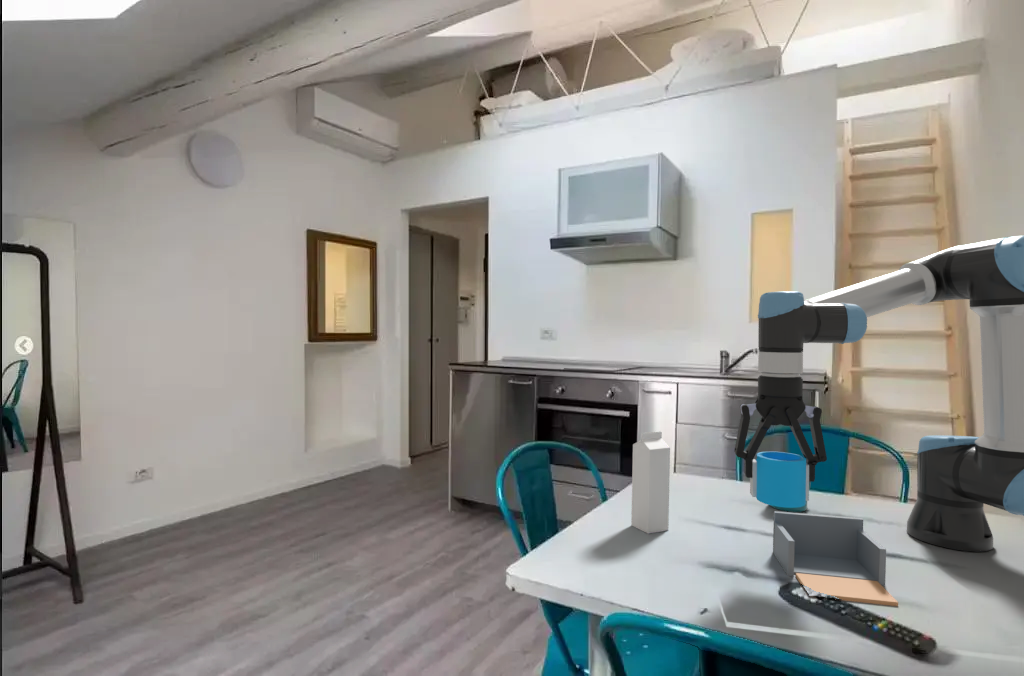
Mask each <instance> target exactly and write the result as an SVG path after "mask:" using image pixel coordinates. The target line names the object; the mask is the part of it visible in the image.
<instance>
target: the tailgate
mask: <svg viewBox="0 0 1024 676" xmlns="http://www.w3.org/2000/svg"><path fill="white" fill-rule="evenodd" d="M795 578H796V579H797V581H798V582H799V584H800V585H801V584H802V585H804V586H807V587H809V588H811V589H812V590H814V591H816V592H820V593H824V594H827V595H831V596H835V597H837V598H839V599H842V600H841V601H847V602H855V603H865V604H874V605H884V606H891V607H899V601H898V600H897V599H896V598H895V597H894V596H893V595H892V594H891V593H890V592H889V591H888V590H887V589H885V587H884V585H881V584H880V583H879V582H878V581H871V580H861V579H851V578H841V577H831V576H821V575H811V574H801V573H796V574H795ZM802 585H801V586H802Z"/></svg>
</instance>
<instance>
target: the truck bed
mask: <svg viewBox="0 0 1024 676" xmlns="http://www.w3.org/2000/svg"><path fill="white" fill-rule="evenodd" d="M772 554H773V555H774V557H775V558H776V560H777V562H779V564H780V566H781V567H782V570H784V572H785V573H786V575H787V576H788V577H795V575H796V573H801V574H811V575H821V576H831V577H841V578H851V579H861V580H871V581H878V582H879V583H880V584H881V585H882V586H886V573H887V572H886V571H887V565H886V564H887V549H886V548H885V547H884V546H883V545H881V543H879V542H878V541H877V540H876V539H874V537H872V536H871V535H870V534H869V533H867V532H866V531H865V530H864V519H863V518H862V517H853V516H852V517H851V516H839V515H838V516H837V515H827V514H815V513H813V514H812V513H802V512H787V511H778V510H777V511H775V510H774V511H773V535H772Z"/></svg>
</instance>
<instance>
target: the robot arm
mask: <svg viewBox="0 0 1024 676" xmlns="http://www.w3.org/2000/svg"><path fill="white" fill-rule="evenodd" d="M953 300H956V301H957V300H969V309H970V310H971V311H972V312H974V313H976V314H977V315H978V316H979V327H980V328H979V329H980V352H981V353H980V355H981V358H980V359H981V380H982V381H981V382H982V385H981V386H982V407H983V413H982V414H983V434H982V435H981V436H969V435H942V434H941V435H938V434H937V435H925V436H924V435H923V436H922V437H921V438H920V439H919V442H918V451H917V452H916V454H917V460H916V461H917V464H916V465H917V467H916V468H917V473H916V474H917V477H916V479H917V484H916V486H917V489H916V490H917V491H916V492H917V493H916V501H915V503H914V505H913V507H912V509H911V512H910V514H909V516H908V519H907V521H906V533H907V534H909V535H910V536H911V537H913V538H914V539H917V540H919V541H922V542H924V543H927V544H929V545H933V546H937V547H941V548H946V549H952V550H958V551H964V552H988V551H991V550H993V549H994V536H993V533H992V530H991V527H990V523H989V522H988V518H987V516H986V513H985V511H984V510H985V509H984V504H985V505H988V506H990V507H994V508H997V509H1000V510H1003V511H1006V512H1008V513H1009V514H1012V515H1017V516H1018V515H1019V516H1023V517H1024V235H1014V236H1013V235H1011V236H1005V237H1001V238H995V239H990V240H984V241H979V242H973V243H965V244H960V245H955V246H953V247H952V246H951V247H949V248H946V249H942V250H941V251H938V252H935V253H932V254H930V255H927V256H924V257H921V258H918V259H916V260H912V261H910V262H906V263H904V264H903V265H901V266H900V268H899V269H898V270H896V271H894V272H891V273H887V274H883V275H881V276H878V277H874V278H871V279H868V280H864V281H861V282H859V283H855V284H851V285H849V286H845V287H842V288H839V289H836V290H832V291H828V292H826V293H822V294H820V295H816V296H813V297H809V298H807V299H805V296H804V294H803V293H802V292H801V291H790V290H789V291H788V290H787V291H768V292H764V293H763V294H761V295H760V297H759V303H758V314H757V321H758V330H757V331H758V332H757V333H758V339H757V340H758V354H757V355H758V363H757V369H758V370H757V372H758V373H760V375H759V376H758V377H757V398H756V401H755V402H754V403H748V404H745V403H741V404H740V405H739V410H740V419H739V420H740V421H739V425H738V429H737V435H736V439H735V445H734V450H733V453H734V454H735V455H736V456H737V458H741V459H743V461H744V463H743V464H744V466H743V467H744V469H743V470H744V471H743V473H744V475H745V477H746V478H747V479H749V483H750V484H749V494H750V495H751V497H752V498H756V497H757V461H756V459H755V456H756V455H757V453H758V451H759V448H760V447H761V444H762V443H763V440H764V438H765V436H766V434H767V432H768V430H770V428H771V426H780V425H782V426H785V427H789V428H790V430H791V432H792V434H793V436H794V438H795V441H796V442H797V445H798V447H799V449H800V451H801V453H802V456H803V457H805V458H806V501H807V502H809V501H810V498H809V497H810V489H809V481H810V482H811V483H814V482H815V480H816V466H817V464H818V463H821V462H822V463H824V462H826V461H827V451H826V446H825V441H824V436H823V430H822V425H821V418H822V413H823V412H822V411H823V410H822V408H821V407H819V406H815V405H813V406H811V405H806V403H805V402H804V400H803V398H804V397H803V394H804V393H803V391H804V389H803V388H804V382H803V381H804V379H803V378H802V377H801V376H800V375H802V374H803V372H804V344H808V343H809V344H815V343H816V344H841V345H843V344H850V343H851V344H852V343H857V342H858V341H860V340H861V339H863V337H864V335H865V334H866V332H867V329H868V318H869V317H872V316H876V315H879V314H883V313H885V312H889V311H891V310H893V309H894V310H895V309H898V308H901V307H905V306H907V305H911V304H912V305H916V306H922V305H926V304H930V303H933V302H940V301H953ZM755 410H757V412H758V413H759V415H760V416H761V418H760V419H759V420H760V421H759V423H758V425H757V427H756V429H755V432H754V434H753V436H752V438H751V440H750V442H749V444H748V446H747V448H746V450H745V446H746V441H747V437H748V432H749V428H750V422H751V417H752V416H753V415H754V412H755ZM804 412H805V415H806V417H807V418H808V421H809V427H810V433H811V437H812V443H813V449H814V453H815V454H813V451H812V449H811V447H810V445H809V443H808V440H807V438H806V437H805V434H804V432H803V430H802V427H801V425H800V422H799V420H798V419H799V418H800V417H801V415H802V414H804Z"/></svg>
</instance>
